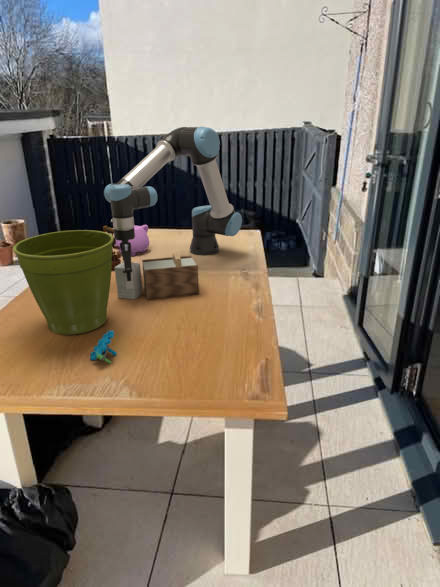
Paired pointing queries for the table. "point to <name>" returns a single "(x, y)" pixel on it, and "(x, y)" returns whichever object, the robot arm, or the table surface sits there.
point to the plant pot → (69, 277)
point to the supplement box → (121, 283)
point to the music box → (115, 258)
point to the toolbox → (170, 280)
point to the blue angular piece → (103, 347)
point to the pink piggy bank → (138, 240)
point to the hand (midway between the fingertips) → (128, 282)
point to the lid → (169, 263)
